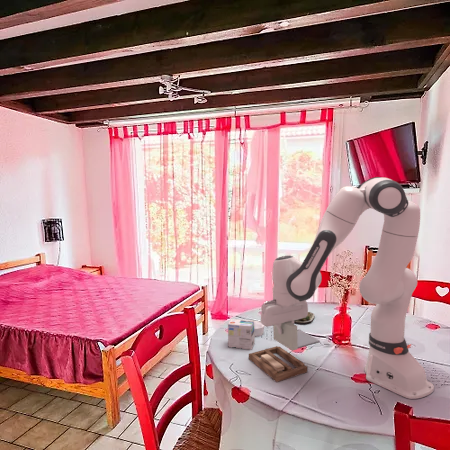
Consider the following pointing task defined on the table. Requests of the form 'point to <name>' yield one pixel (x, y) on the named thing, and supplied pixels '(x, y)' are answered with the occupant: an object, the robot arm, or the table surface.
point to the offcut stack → (272, 363)
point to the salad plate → (305, 319)
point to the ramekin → (258, 328)
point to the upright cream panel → (287, 335)
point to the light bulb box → (241, 334)
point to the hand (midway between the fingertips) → (285, 332)
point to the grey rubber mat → (305, 339)
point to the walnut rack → (287, 356)
